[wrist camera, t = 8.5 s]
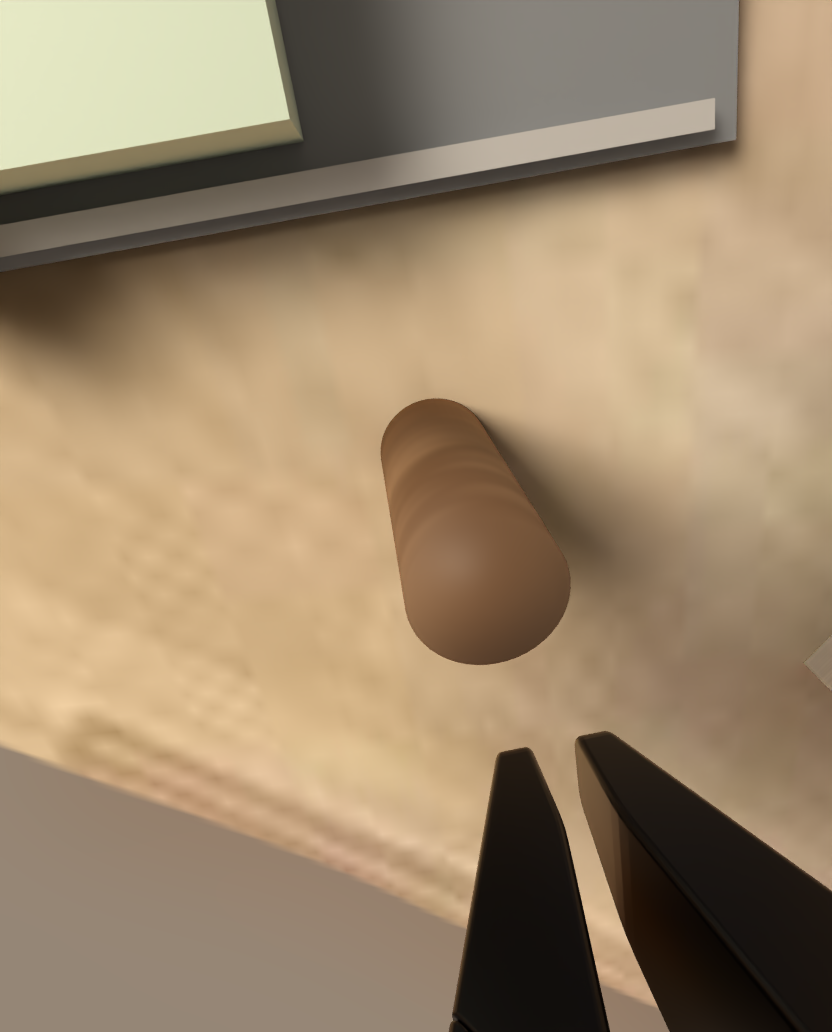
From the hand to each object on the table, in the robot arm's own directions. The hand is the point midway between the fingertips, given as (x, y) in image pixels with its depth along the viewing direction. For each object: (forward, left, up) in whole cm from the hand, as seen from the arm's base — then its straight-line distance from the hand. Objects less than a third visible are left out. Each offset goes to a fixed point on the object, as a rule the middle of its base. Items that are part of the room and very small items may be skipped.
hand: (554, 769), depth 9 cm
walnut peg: (0, 0, -13) cm, 13 cm away
